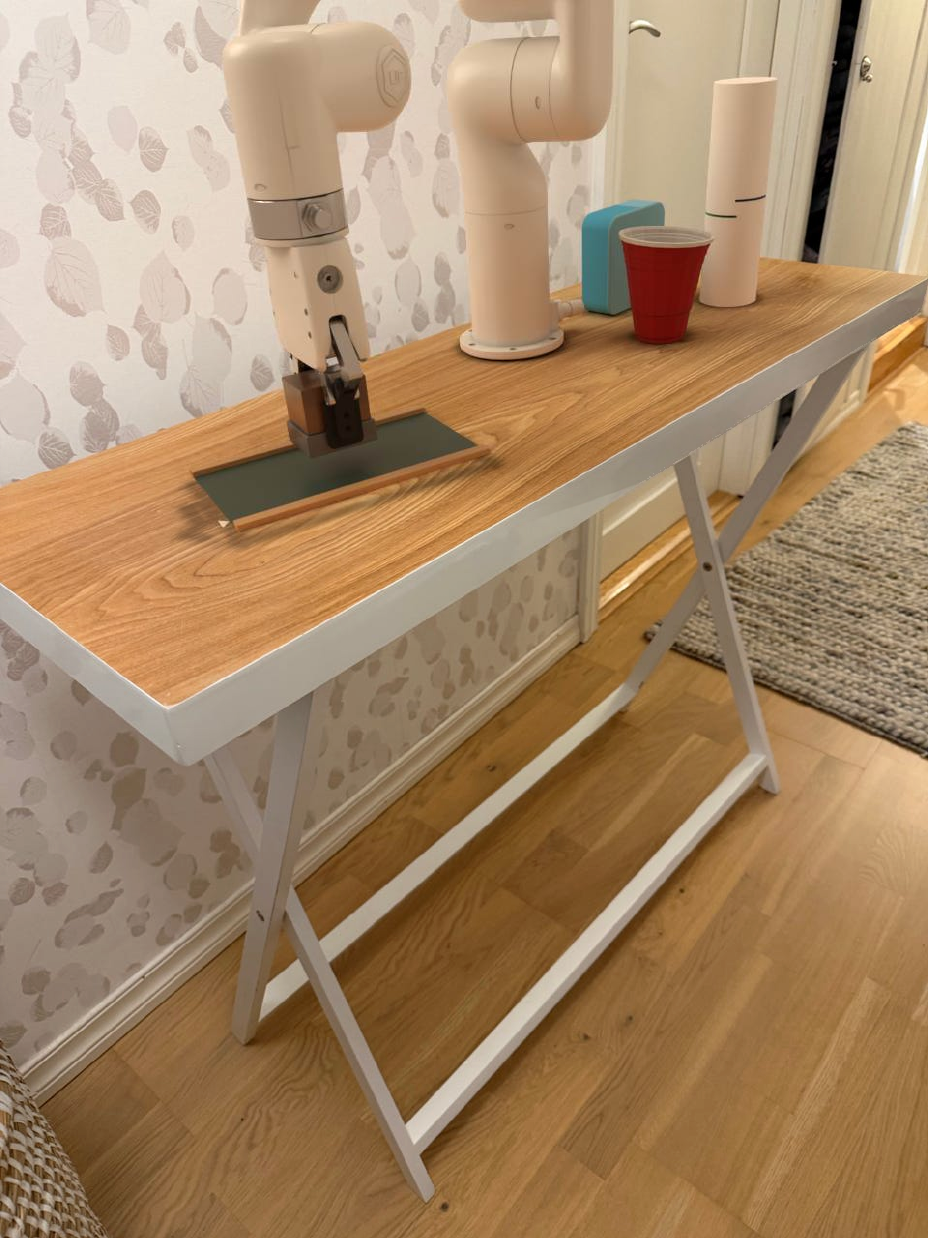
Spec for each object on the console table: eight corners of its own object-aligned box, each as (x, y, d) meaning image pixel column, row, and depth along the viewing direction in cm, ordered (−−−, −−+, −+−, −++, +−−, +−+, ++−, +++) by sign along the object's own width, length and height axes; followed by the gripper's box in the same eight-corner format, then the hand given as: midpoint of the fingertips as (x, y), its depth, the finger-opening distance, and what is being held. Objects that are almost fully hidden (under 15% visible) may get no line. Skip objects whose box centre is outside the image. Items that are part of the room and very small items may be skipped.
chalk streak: (197, 522, 79) (195, 519, 78) (231, 524, 77) (229, 521, 76) (187, 534, 78) (184, 530, 78) (221, 536, 76) (218, 532, 76)
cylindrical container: (761, 304, 119) (785, 80, 105) (705, 308, 119) (721, 85, 105) (748, 289, 125) (769, 75, 111) (694, 293, 125) (708, 80, 111)
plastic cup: (726, 340, 108) (735, 231, 102) (644, 356, 106) (648, 246, 99) (677, 317, 117) (682, 215, 110) (600, 332, 114) (601, 228, 108)
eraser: (289, 441, 84) (277, 376, 81) (354, 423, 86) (345, 360, 83) (310, 459, 80) (298, 392, 77) (378, 439, 83) (369, 374, 79)
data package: (634, 290, 128) (637, 196, 122) (662, 294, 126) (666, 199, 119) (580, 312, 121) (580, 215, 115) (608, 318, 119) (610, 218, 112)
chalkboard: (420, 419, 95) (418, 403, 94) (491, 464, 85) (490, 447, 84) (193, 484, 86) (188, 467, 85) (241, 544, 76) (236, 525, 75)
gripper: (389, 224, 68) (414, 453, 78) (303, 197, 81) (334, 398, 91) (293, 242, 65) (332, 478, 75) (220, 211, 78) (261, 417, 88)
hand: (333, 432), depth 83 cm, fingers closed on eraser, 5 cm apart
